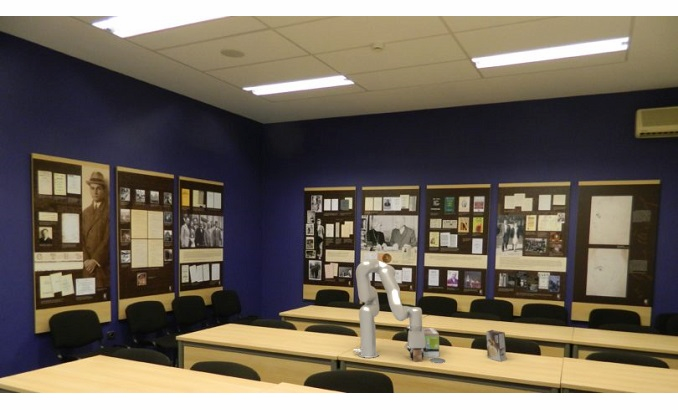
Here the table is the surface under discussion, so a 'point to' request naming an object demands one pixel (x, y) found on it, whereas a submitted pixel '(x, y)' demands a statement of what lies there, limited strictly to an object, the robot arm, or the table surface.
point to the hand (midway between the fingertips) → (416, 358)
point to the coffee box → (496, 345)
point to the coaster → (437, 360)
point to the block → (417, 355)
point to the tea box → (431, 342)
